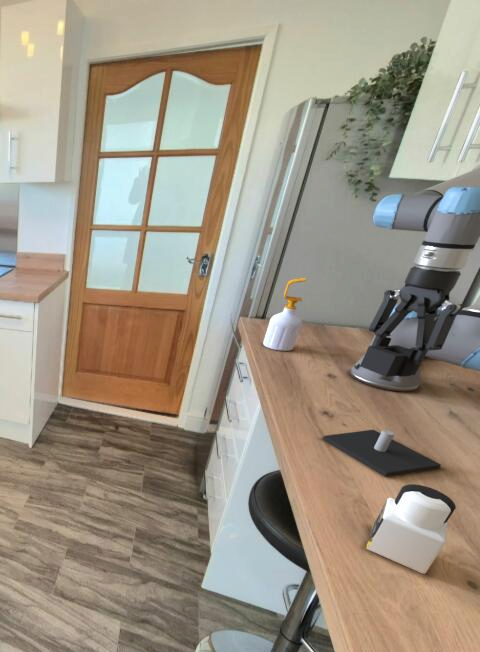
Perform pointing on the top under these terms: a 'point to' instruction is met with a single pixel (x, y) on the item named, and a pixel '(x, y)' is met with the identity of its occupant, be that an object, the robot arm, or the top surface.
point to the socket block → (385, 360)
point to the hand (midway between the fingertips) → (387, 369)
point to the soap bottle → (284, 324)
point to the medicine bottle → (412, 527)
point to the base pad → (381, 452)
